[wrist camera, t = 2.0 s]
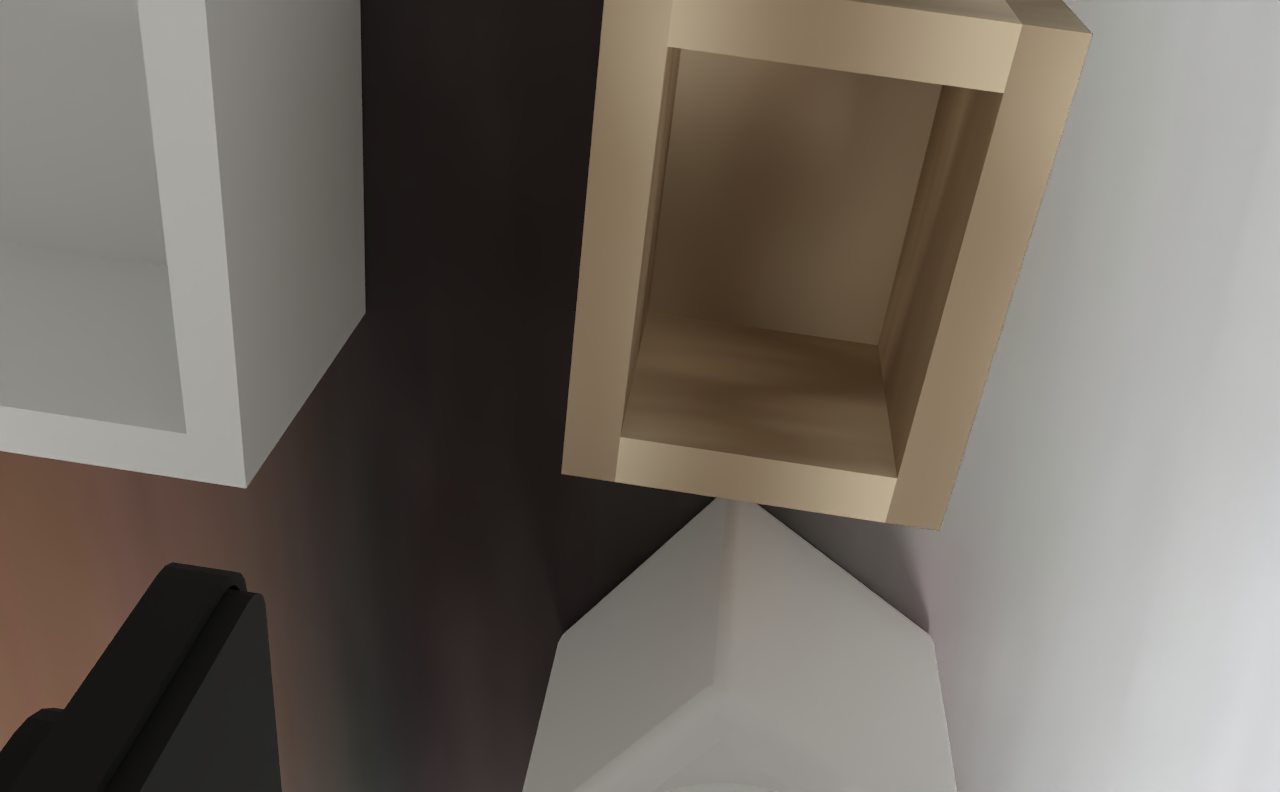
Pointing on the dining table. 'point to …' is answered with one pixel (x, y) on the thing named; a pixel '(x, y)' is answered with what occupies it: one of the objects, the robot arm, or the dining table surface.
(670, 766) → the medicine bottle
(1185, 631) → the dining table surface
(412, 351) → the dining table surface
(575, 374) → the small wooden crate
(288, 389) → the grey plastic crate
